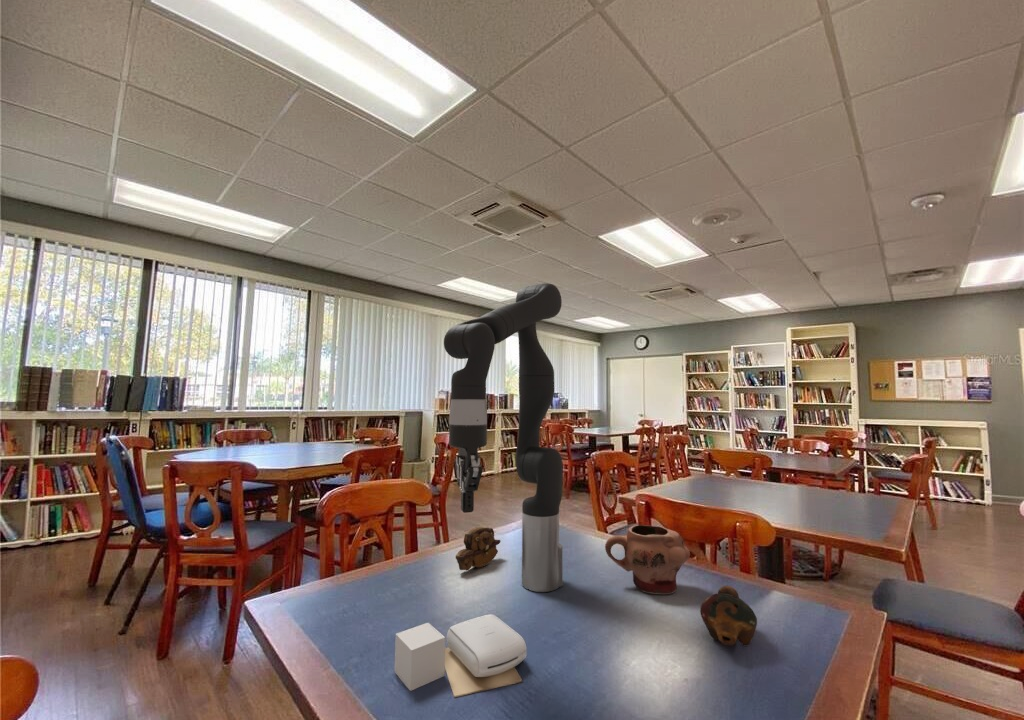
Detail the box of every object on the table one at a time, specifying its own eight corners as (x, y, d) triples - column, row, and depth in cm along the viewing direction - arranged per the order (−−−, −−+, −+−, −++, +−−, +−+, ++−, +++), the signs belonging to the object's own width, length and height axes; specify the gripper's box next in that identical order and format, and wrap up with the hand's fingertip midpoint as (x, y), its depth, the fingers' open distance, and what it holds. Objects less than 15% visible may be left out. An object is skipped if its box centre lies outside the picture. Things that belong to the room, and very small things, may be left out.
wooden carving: (467, 578, 107) (468, 538, 108) (453, 574, 109) (454, 534, 110) (503, 559, 120) (503, 522, 121) (490, 555, 123) (490, 520, 124)
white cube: (394, 672, 69) (395, 633, 70) (427, 659, 73) (428, 622, 74) (410, 691, 65) (411, 650, 65) (444, 676, 69) (445, 637, 69)
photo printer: (494, 610, 81) (532, 640, 71) (494, 633, 81) (532, 667, 71) (445, 624, 76) (479, 659, 65) (445, 650, 75) (478, 689, 65)
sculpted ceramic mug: (611, 598, 96) (610, 535, 98) (601, 576, 108) (600, 521, 110) (699, 600, 96) (697, 536, 97) (679, 578, 108) (678, 522, 110)
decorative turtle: (753, 626, 85) (751, 584, 85) (764, 669, 71) (761, 619, 72) (701, 616, 89) (699, 576, 89) (701, 655, 75) (699, 607, 76)
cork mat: (497, 639, 79) (497, 637, 79) (522, 681, 67) (522, 680, 67) (438, 650, 76) (438, 648, 76) (454, 697, 63) (454, 696, 63)
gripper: (496, 423, 79) (495, 518, 78) (477, 420, 92) (476, 502, 90) (457, 424, 77) (455, 522, 75) (443, 421, 89) (441, 505, 87)
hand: (467, 511), depth 83 cm, fingers closed
